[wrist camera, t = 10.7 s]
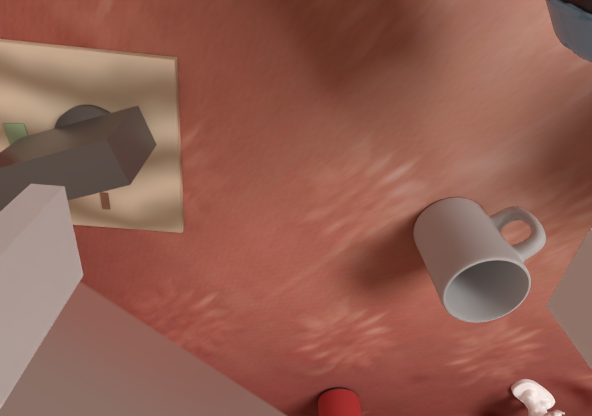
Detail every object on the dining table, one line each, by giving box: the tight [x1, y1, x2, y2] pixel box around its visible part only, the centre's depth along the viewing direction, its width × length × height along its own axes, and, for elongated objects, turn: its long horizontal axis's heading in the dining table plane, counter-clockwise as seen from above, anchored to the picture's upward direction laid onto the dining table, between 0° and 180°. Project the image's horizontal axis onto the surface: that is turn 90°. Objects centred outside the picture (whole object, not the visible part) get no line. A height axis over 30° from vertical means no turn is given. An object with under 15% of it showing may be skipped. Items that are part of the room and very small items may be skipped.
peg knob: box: [0, 104, 157, 211], centre depth 37 cm, size 15×6×9 cm, turn 105°
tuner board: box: [0, 39, 184, 233], centre depth 42 cm, size 19×18×1 cm
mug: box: [413, 197, 546, 322], centre depth 44 cm, size 12×8×11 cm
